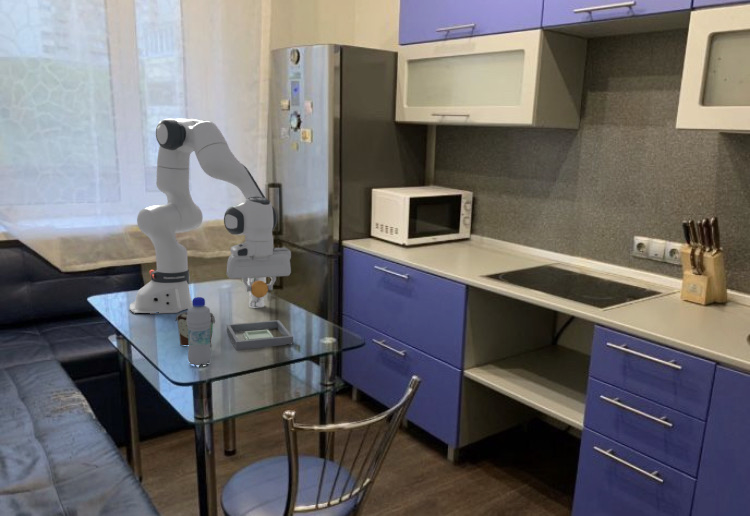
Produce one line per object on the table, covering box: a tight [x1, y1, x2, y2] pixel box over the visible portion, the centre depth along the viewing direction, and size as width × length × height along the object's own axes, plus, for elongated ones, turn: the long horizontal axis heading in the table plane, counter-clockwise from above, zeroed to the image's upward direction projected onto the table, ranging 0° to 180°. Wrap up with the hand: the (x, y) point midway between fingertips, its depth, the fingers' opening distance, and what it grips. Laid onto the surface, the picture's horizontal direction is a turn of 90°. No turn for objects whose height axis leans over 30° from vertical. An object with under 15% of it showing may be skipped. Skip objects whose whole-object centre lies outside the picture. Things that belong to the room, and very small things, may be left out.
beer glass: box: [246, 277, 267, 309], centre depth 226 cm, size 7×7×15 cm
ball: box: [251, 281, 269, 298], centre depth 189 cm, size 6×6×6 cm
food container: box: [175, 311, 216, 348], centre depth 184 cm, size 12×6×10 cm, turn 84°
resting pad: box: [242, 329, 274, 340], centre depth 193 cm, size 9×9×1 cm
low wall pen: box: [225, 319, 294, 351], centre depth 192 cm, size 18×18×2 cm
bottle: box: [186, 296, 212, 366], centre depth 166 cm, size 7×7×20 cm
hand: (259, 290), depth 189 cm, fingers closed on ball, 5 cm apart
